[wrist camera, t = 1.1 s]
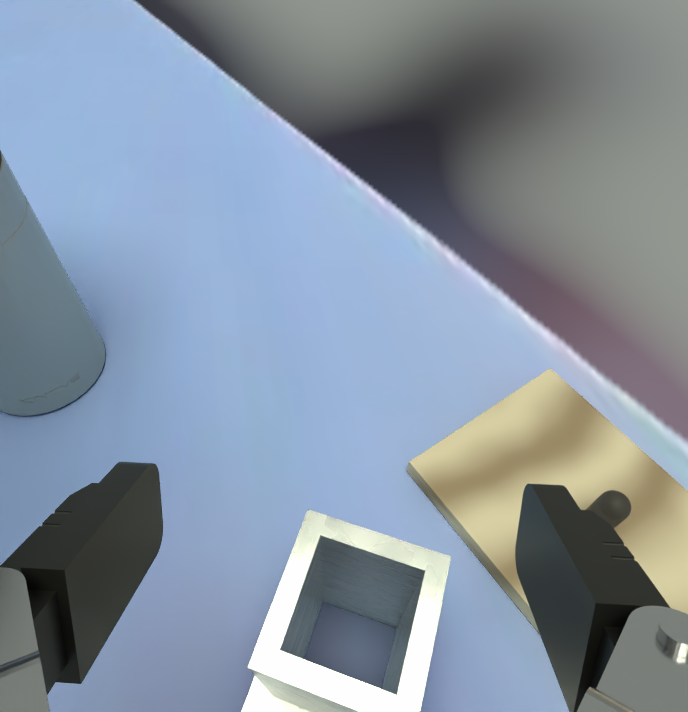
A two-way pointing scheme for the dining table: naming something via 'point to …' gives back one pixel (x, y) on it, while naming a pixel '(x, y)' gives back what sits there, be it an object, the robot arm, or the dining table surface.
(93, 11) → the dining table surface
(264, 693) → the sleeve
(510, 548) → the base plate
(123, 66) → the dining table surface
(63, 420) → the dining table surface
